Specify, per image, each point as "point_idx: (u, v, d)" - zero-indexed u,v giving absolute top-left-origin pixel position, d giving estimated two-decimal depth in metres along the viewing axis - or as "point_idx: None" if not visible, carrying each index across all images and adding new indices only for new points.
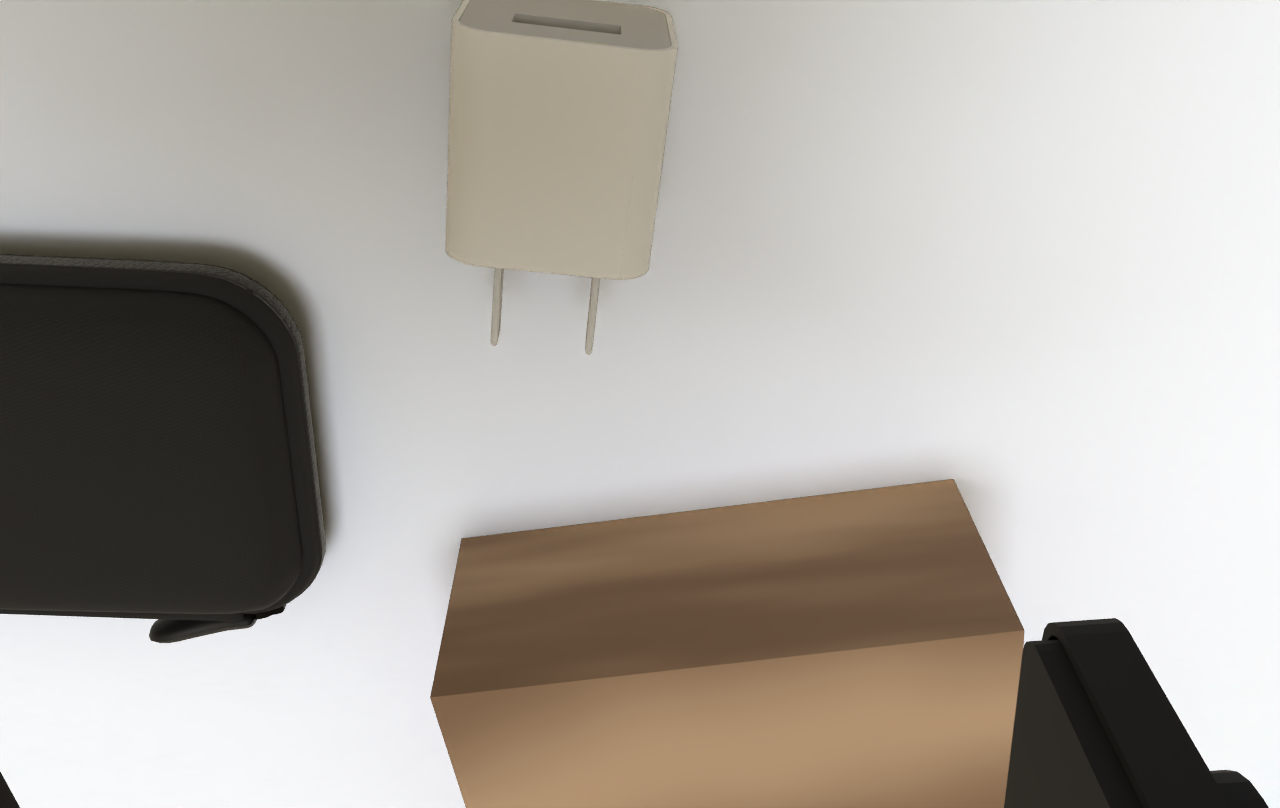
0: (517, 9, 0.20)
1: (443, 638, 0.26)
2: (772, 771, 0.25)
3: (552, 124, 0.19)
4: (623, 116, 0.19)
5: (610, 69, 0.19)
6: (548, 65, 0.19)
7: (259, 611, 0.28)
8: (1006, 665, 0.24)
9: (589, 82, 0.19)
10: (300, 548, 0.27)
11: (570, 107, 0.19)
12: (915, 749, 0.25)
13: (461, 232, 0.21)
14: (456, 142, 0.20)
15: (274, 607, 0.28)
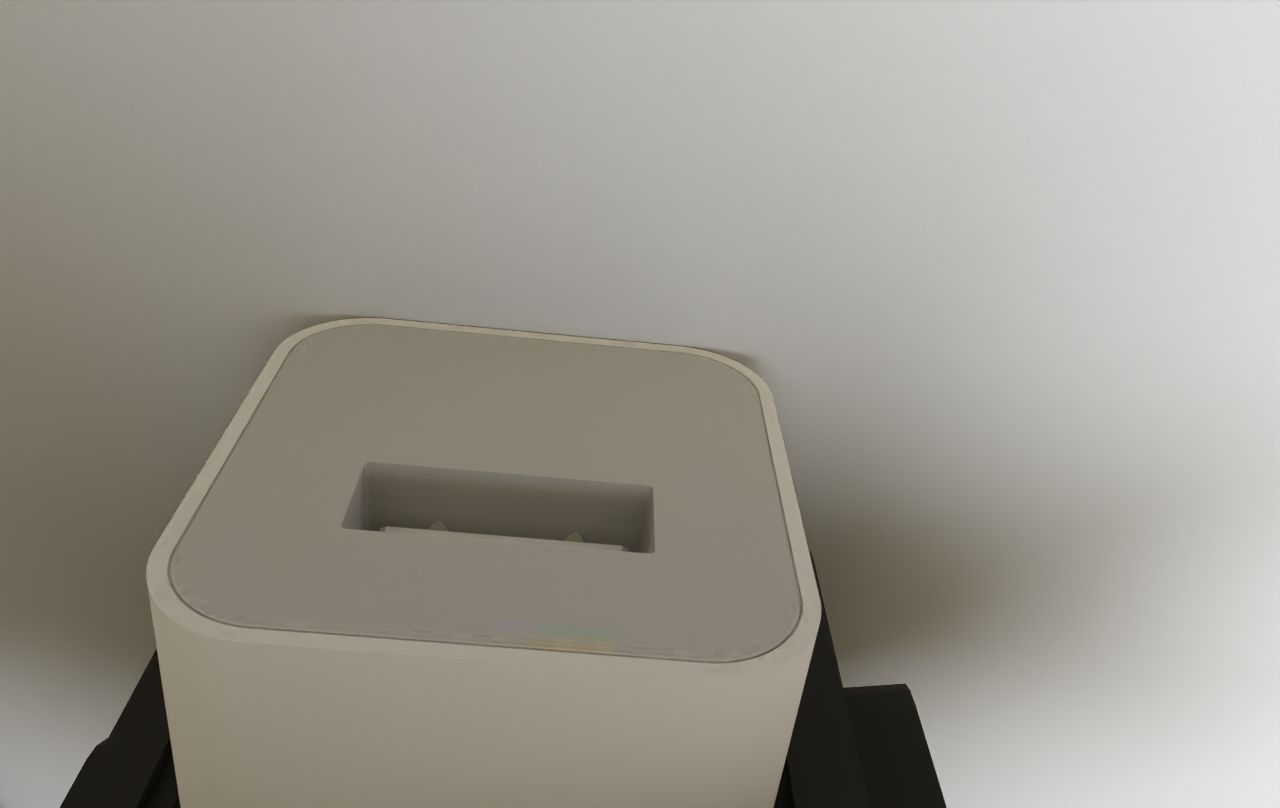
0: (379, 434, 0.08)
1: None
2: None
3: None
4: None
5: (623, 721, 0.06)
6: (433, 714, 0.06)
7: None
8: None
9: (560, 750, 0.06)
10: None
11: (505, 801, 0.06)
12: None
13: None
14: None
15: None
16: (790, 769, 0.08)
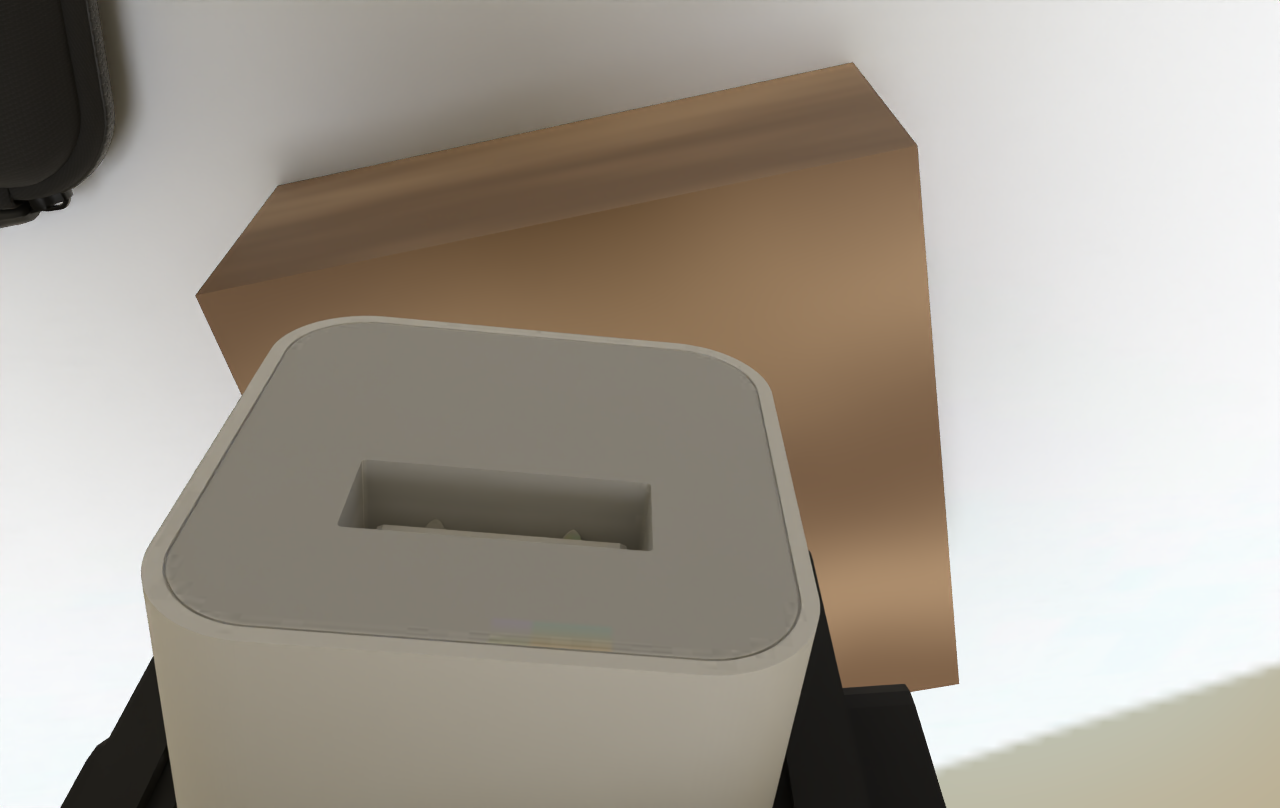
0: (376, 432, 0.08)
1: (228, 253, 0.21)
2: None
3: None
4: None
5: (621, 719, 0.06)
6: (429, 713, 0.06)
7: (32, 194, 0.23)
8: (901, 203, 0.19)
9: (557, 748, 0.06)
10: (75, 97, 0.22)
11: (503, 800, 0.06)
12: (805, 342, 0.20)
13: None
14: None
15: (50, 189, 0.23)
16: (790, 769, 0.08)
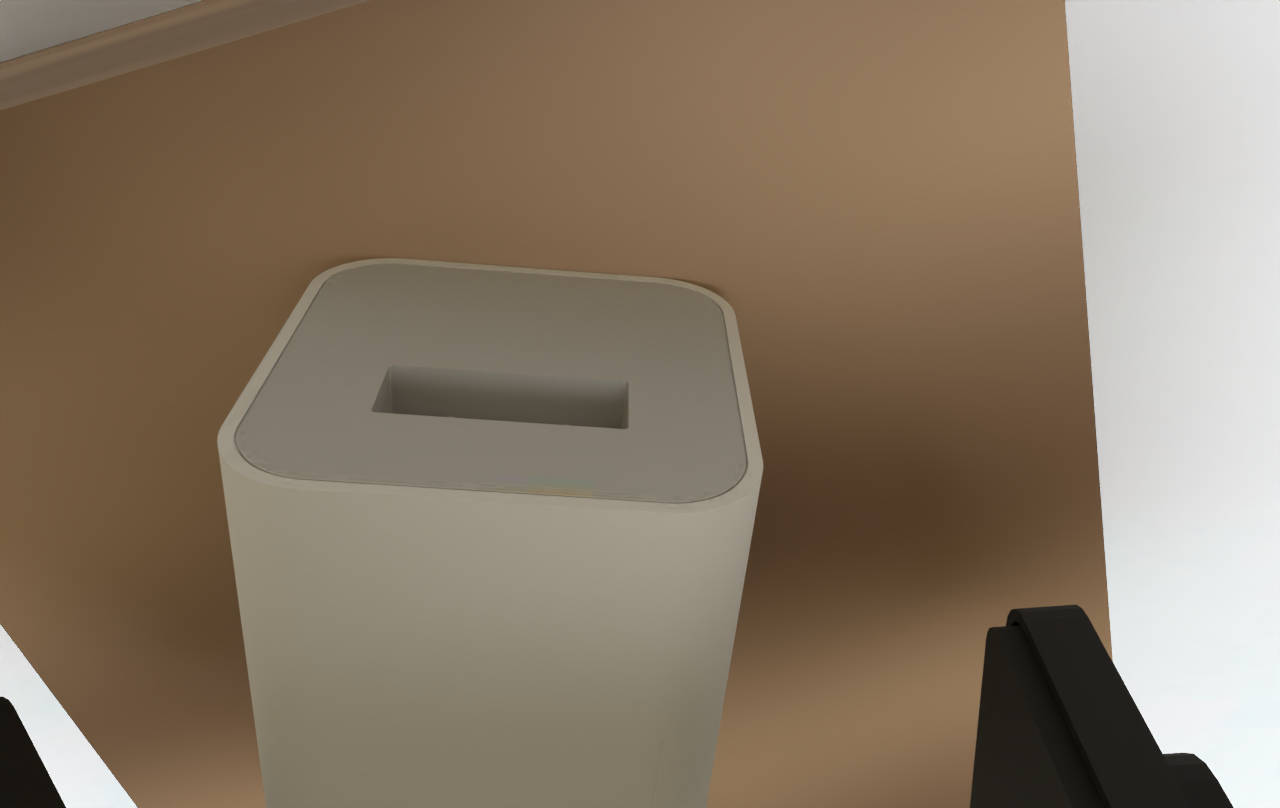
0: (400, 345, 0.09)
1: None
2: None
3: (469, 659, 0.08)
4: (637, 638, 0.08)
5: (601, 552, 0.08)
6: (448, 549, 0.08)
7: None
8: None
9: (551, 579, 0.08)
10: None
11: (509, 626, 0.08)
12: (837, 242, 0.11)
13: None
14: (255, 679, 0.09)
15: None
16: None
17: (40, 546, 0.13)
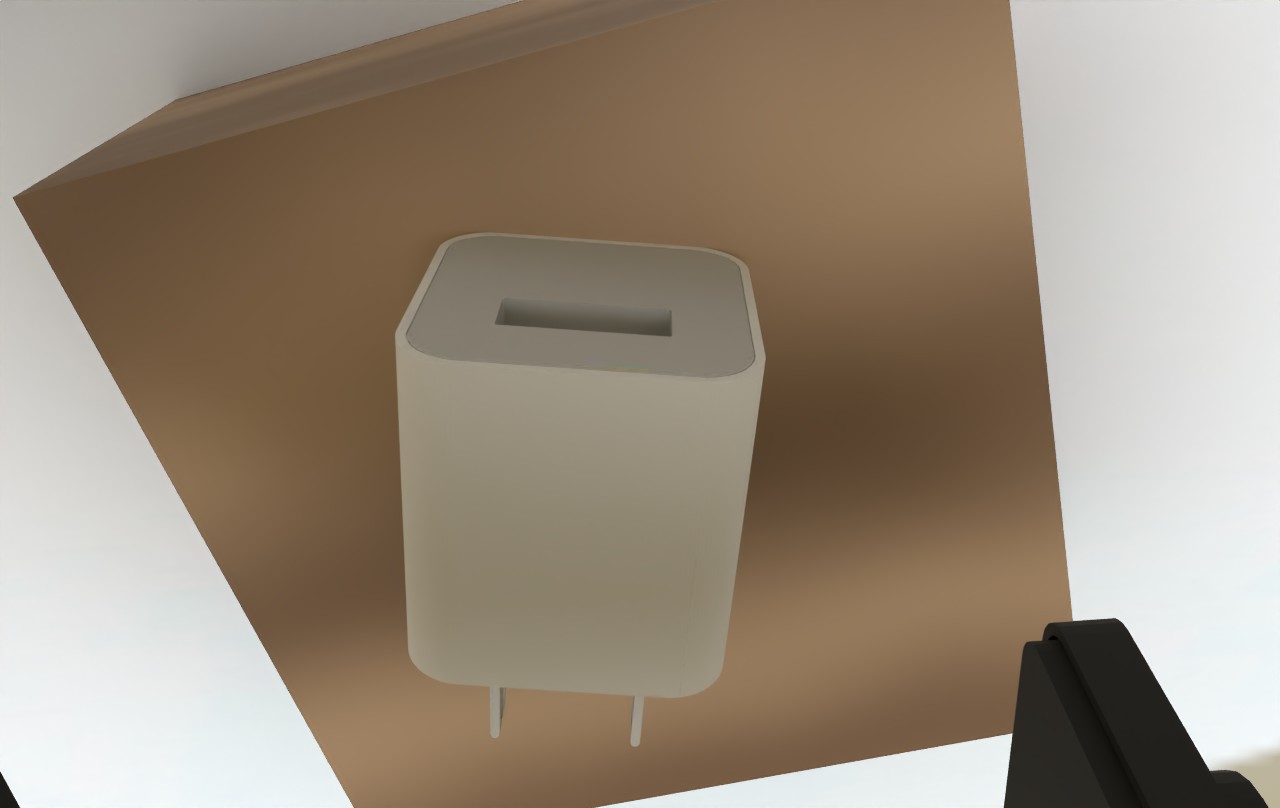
0: (508, 286, 0.13)
1: (80, 157, 0.16)
2: None
3: (562, 493, 0.12)
4: (678, 477, 0.12)
5: (655, 411, 0.11)
6: (552, 409, 0.11)
7: None
8: (981, 16, 0.13)
9: (621, 431, 0.11)
10: None
11: (591, 467, 0.12)
12: (851, 234, 0.15)
13: (427, 637, 0.13)
14: (411, 514, 0.12)
15: None
16: None
17: (236, 466, 0.16)
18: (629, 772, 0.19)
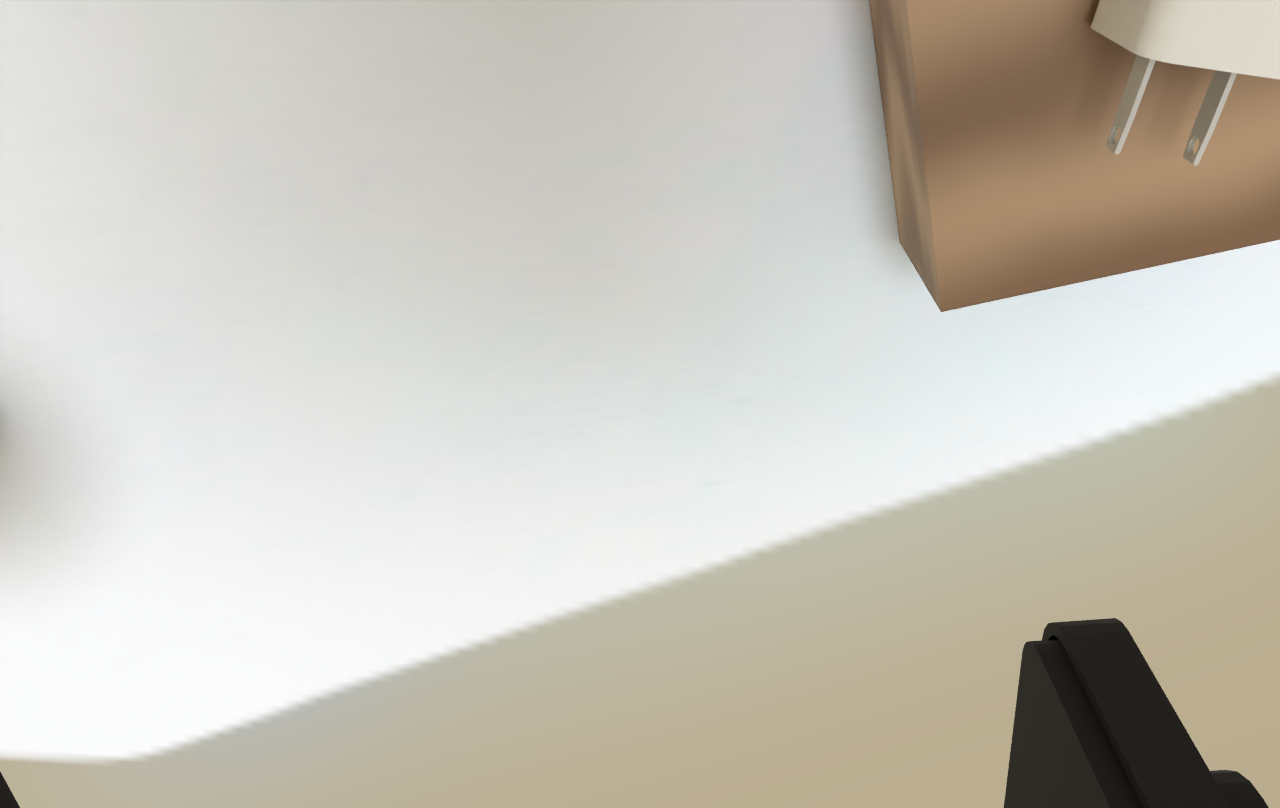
0: None
1: None
2: None
3: None
4: None
5: None
6: None
7: None
8: None
9: None
10: None
11: None
12: None
13: (1167, 33, 0.24)
14: None
15: None
16: None
17: (950, 8, 0.28)
18: (1120, 250, 0.31)
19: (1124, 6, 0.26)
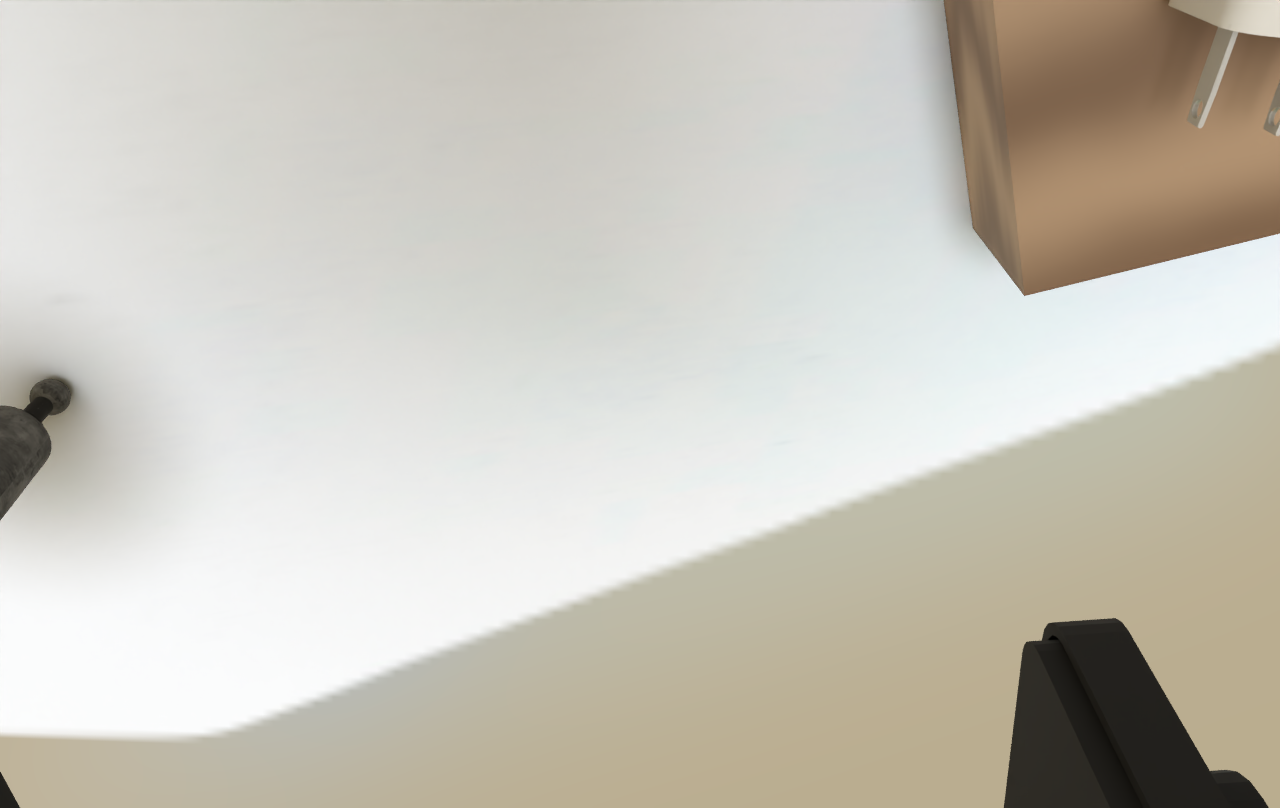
0: None
1: None
2: None
3: None
4: None
5: None
6: None
7: None
8: None
9: None
10: None
11: None
12: None
13: (1254, 6, 0.25)
14: None
15: None
16: None
17: (1035, 0, 0.28)
18: (1201, 230, 0.31)
19: None
